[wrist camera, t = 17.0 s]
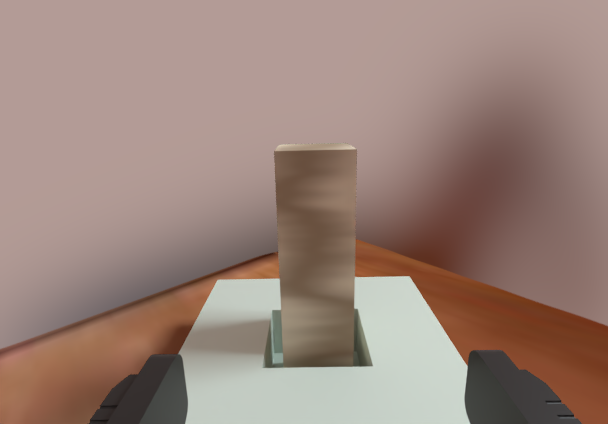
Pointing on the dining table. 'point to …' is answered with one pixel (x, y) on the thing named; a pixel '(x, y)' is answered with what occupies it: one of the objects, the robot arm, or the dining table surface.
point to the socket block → (322, 380)
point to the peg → (316, 252)
